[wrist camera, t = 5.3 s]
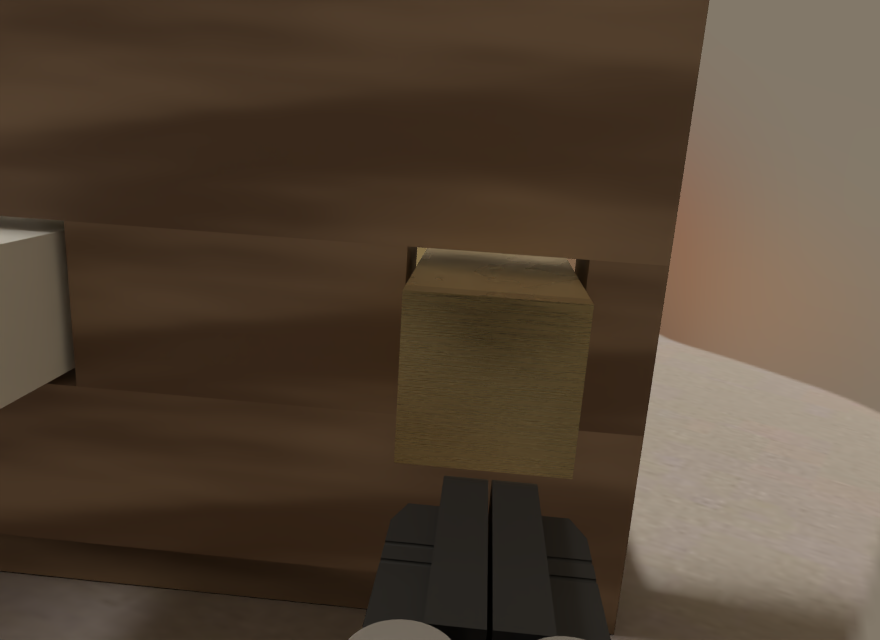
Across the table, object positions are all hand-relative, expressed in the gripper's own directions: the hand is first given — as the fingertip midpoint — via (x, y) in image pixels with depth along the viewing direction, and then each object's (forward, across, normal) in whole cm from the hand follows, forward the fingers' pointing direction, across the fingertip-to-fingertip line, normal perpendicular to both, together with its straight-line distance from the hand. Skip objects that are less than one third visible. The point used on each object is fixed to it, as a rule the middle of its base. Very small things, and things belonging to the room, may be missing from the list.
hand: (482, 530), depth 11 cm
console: (+14, +8, +10) cm, 19 cm away
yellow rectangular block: (+10, 0, +2) cm, 10 cm away
